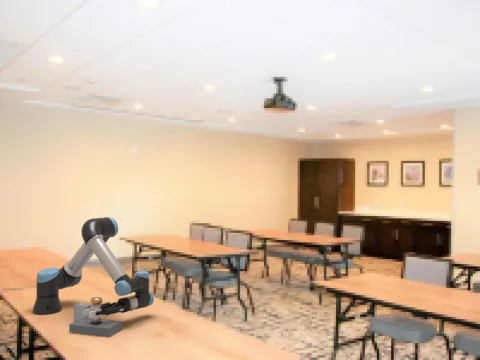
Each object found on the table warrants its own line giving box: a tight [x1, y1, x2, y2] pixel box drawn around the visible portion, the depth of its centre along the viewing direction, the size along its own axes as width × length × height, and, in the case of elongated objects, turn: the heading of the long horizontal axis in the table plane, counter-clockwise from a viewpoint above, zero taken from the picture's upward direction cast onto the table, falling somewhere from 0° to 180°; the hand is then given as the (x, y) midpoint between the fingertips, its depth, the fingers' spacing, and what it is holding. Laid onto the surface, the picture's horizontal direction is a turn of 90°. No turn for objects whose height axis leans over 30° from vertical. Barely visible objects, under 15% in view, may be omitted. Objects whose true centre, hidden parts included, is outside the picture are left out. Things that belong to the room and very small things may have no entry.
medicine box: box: [73, 302, 92, 322], centre depth 234 cm, size 8×4×9 cm, turn 74°
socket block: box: [68, 317, 124, 338], centre depth 218 cm, size 22×12×4 cm, turn 75°
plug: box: [90, 296, 103, 325], centre depth 218 cm, size 5×5×16 cm
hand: (86, 314), depth 214 cm, fingers closed on plug, 4 cm apart
